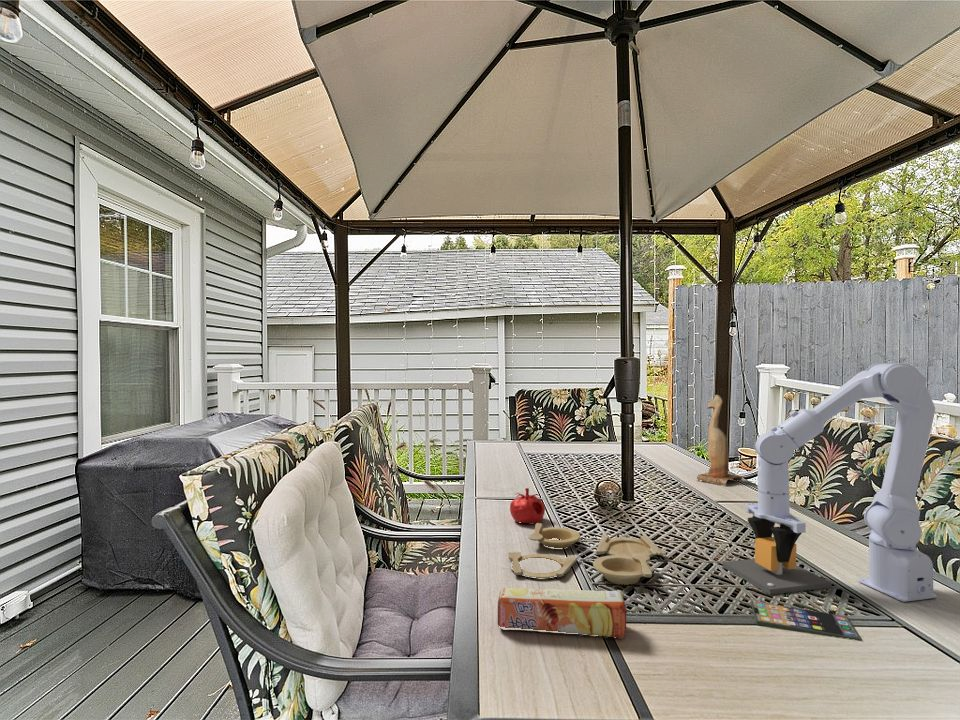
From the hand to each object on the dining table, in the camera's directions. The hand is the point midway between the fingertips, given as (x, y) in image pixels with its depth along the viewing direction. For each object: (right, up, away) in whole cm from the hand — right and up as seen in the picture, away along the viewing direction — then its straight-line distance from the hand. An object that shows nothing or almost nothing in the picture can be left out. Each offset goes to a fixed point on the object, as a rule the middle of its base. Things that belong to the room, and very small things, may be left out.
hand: (774, 556), depth 109 cm
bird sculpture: (+26, -4, +83) cm, 87 cm away
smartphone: (-5, -5, -18) cm, 20 cm away
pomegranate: (-48, -5, +39) cm, 62 cm away
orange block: (0, -2, 0) cm, 2 cm away
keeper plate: (0, -4, 0) cm, 4 cm away
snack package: (-47, -5, -20) cm, 52 cm away
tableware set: (-37, -5, +11) cm, 39 cm away
